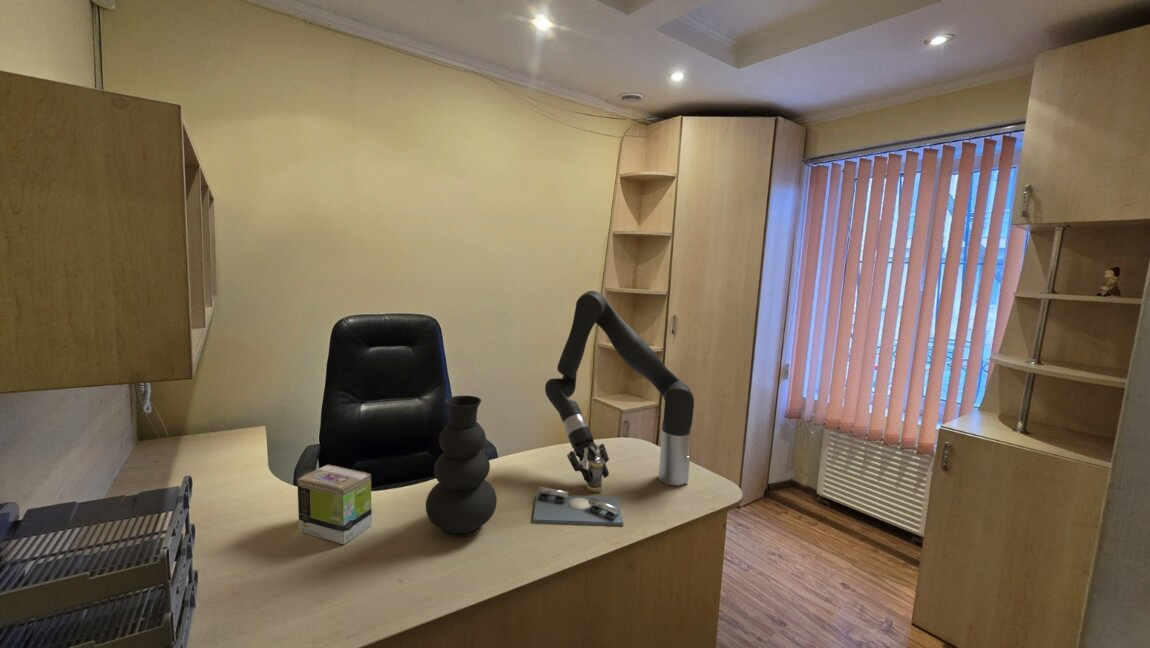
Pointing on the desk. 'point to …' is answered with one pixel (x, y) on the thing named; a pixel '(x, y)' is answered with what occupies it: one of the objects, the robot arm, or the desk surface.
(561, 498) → the shaft
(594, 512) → the shaft
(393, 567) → the desk surface
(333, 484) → the tea box
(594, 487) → the banded tin drum
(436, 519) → the vase
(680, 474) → the robot arm
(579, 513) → the board
